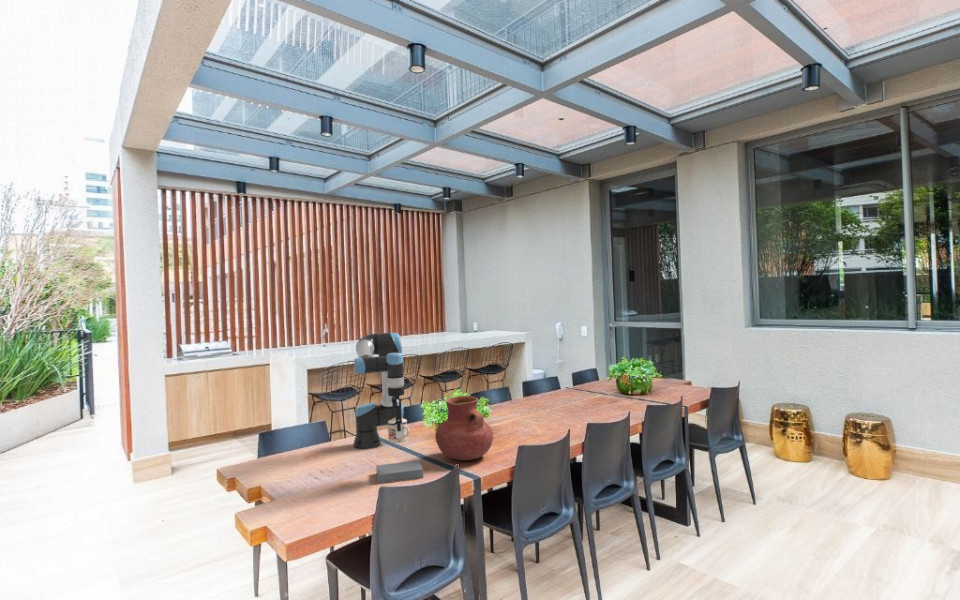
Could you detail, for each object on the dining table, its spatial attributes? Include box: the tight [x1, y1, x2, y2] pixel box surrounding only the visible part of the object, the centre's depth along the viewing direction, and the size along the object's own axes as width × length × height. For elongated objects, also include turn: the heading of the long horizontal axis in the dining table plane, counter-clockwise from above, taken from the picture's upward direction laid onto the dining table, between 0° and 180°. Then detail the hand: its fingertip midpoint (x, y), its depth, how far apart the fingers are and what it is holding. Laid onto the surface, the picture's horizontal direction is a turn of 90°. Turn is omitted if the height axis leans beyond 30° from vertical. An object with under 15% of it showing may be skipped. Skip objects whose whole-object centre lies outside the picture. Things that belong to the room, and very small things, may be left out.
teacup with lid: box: [387, 417, 410, 444], centre depth 231 cm, size 12×9×12 cm
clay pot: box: [435, 395, 494, 461], centre depth 255 cm, size 30×29×30 cm
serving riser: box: [375, 459, 424, 485], centre depth 231 cm, size 14×20×4 cm
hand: (397, 435), depth 231 cm, fingers closed on teacup with lid, 9 cm apart
